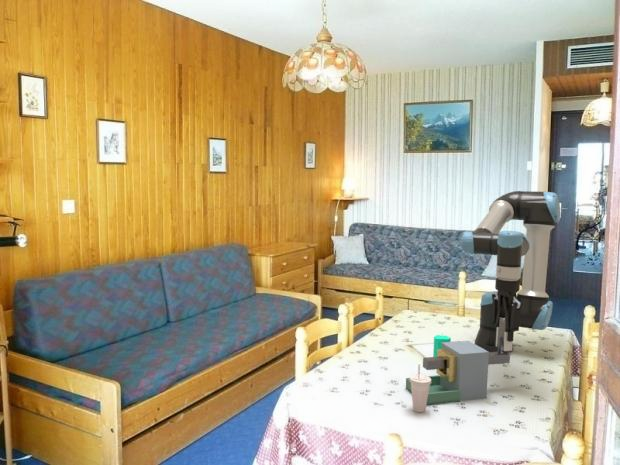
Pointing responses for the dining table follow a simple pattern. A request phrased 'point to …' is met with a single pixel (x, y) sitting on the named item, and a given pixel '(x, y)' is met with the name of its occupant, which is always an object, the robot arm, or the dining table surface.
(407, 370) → the dining table surface
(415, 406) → the smoothie
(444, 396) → the tray
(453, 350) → the bearing block
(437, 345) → the candle
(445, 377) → the spacer
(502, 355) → the l-shaped bracket
